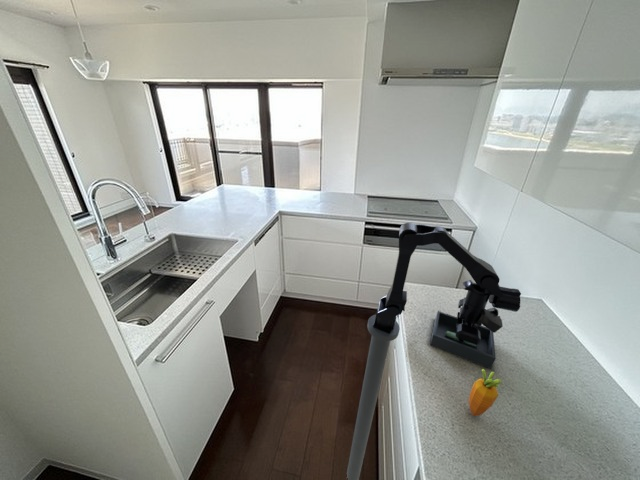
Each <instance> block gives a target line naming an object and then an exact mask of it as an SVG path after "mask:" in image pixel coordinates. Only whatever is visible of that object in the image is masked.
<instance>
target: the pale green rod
mask: <svg viewBox="0 0 640 480" xmlns="http://www.w3.org/2000/svg"><path fill="white" fill-rule="evenodd" d="M445 335H446V336H447V337H449V338H452V339H455V340H457V341H459V338H457V337H456V334H455V333H453V332H450V331H446V332H445ZM460 342H461V341H460ZM463 343H465V344H468V345H471V346H473V347H477V346H478V345H475V344H472V343H470V342H467V341H463Z"/></svg>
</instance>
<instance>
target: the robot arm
mask: <svg viewBox="0 0 640 480" xmlns="http://www.w3.org/2000/svg"><path fill="white" fill-rule="evenodd" d="M398 232H399V234H398V255H397V260H396V264H395V269H394V274H393V279H392V283H391V286H390V288H389V289H388V291H387V293H386V295H385V296H382V297H380V298H379V303H378V307H377V310H376V312H375V315H376V317H375V322H374V324H373V327H374V328H376V329H379V330H381V331H384V332H386V333H389V334H390V333H391V330H393V329H394V326H395V322H396V321H397V318H398V317H397V316H401V315H402V313H403V312H406V305H407V301H408V291H407V290H404V288H405V284H406V280H407V275H408V271H409V266H410V262H411V258H412V255H413V254H414V252H415V251H416V250H417V247H418V246H419V247H423V246H428V245H433V244H434V245H435V244H438V245H439V246H440V247H441V248H442V249H444V250H445V251H446V252H447V253H448V254H449V255H450V256H451V257H453V258H454V260H456V261H457V262H458V263H459V264H460V265H461V266H462V267H464V268H465V270H466V271H467V273H468V274H469V275H470V277H471V279H469V280H466V281H463V282H462V286H463V289H464V290H465V291H467V292H466V295H465V297H463V298H460V299H459V301H458V304H457V308H458V309H459V311H457V313H456V315H457V316H456V317H457V320H458V323H457V325H456V337H457V338H459V341H461V342H463V341H467V342H470V343H472V344H475V345H479V343H480V340H481V335H480V331H479V330H478V329H477V326H476V325H478V326H484V327H487V328H488V329H490V330H491V331H492V332H493V334H495V333H497V332H498V331H500V330H501V329H502V328H503V327H504V326H503V320H502V318H501V316H500V315H499V309H500V310H504V311H509V312H514V313H516V312H518V311H519V310H520V308H521V295H522V293H521V291H520V290H519V288H509V287H504V286H500V284H499V283H500V277H499V275H498V273H497V271H496V270H495V268H494V267H493V266H492V265H491V264H490V263H489V262H487V261H485V260H483V259H482V258H479V257H477V256H475V255H474V254H473V253H471V251H469V249H467V248H466V247H465V246H464V245H462V244H461V242H460V241H458V240H457V238H455V237H454V236H453V235H451V233H450V232H449V231H447V229H446V228H445V227H443V226H441V225H436V226H435V225H427V224H420V223H419V224H416V223H413V222H404V223H403V224H401V226H400V227H399V231H398ZM472 280H473V281H474V282H473V281H472ZM488 303H489V304H491V306H492V307H490V308H487V309H486V306H487V304H488ZM475 324H476V325H475Z"/></svg>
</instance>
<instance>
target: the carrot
mask: <svg viewBox="0 0 640 480" xmlns="http://www.w3.org/2000/svg"><path fill="white" fill-rule="evenodd" d="M481 373H482V378H479V379H476V380H475V381H474V382H473V385H472V387H471V390H470V393H469V398H468V399H469V400H468V405H469V410H470V414H471V415H472V416H473V417H477V416H478V417H479V416H481V415H483V414H484V413H485V412H487V411H488V410H489V409H490V408H491V407H492V406H493V404H495V401H496V400H497V399H498V397H499V392H498V389H497V388H500V385H499V384H501V383H502V380H501V379H500V378H496V379H494V380H493V376H495V372H494V371H491V372H490V373H489V375H488V377H487V373H486V370H485V369H484V368H482V369H481Z"/></svg>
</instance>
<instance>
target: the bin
mask: <svg viewBox="0 0 640 480" xmlns="http://www.w3.org/2000/svg"><path fill="white" fill-rule="evenodd" d="M457 323H458V320H457V316H455V315H452V314H448V313H446V312H442V311H439V310H437V313H436V315H435V318H434V324H433V328H432V334H431V337H430V342H429V346H432V347H434V348H436V349H439V350H442V351H444V352H447V353H449V354H451V355H454V356H457V357H459V358H462V359H464V360H467V361H469V362H471V363H473V364H474V363H475V364H477V365H479V366H482V367H484V368H487V369H489V370H491V369H492V368H493V366H494V363H495V361H496V359H497V356H496V345H495V338H494V337H495V335H494V332H492V331H491V330H490V329H488V328H487V327H485V326H484V325H481V326H478V325H476V324H475V325H476V326H477V329H478V330H479V331H480V335H481V340H480V343H479V345H478V346H477V347H473V346H471V345H468V344H465V343H463V342H460V341H457V340H455V339H452V338H449V337H447V336H446V335H445V332H446V331H450V332H453V333H455V334H456V325H457Z"/></svg>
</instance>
